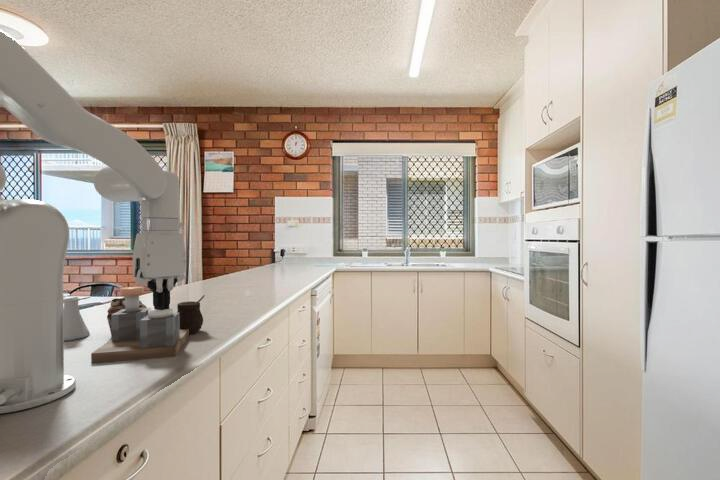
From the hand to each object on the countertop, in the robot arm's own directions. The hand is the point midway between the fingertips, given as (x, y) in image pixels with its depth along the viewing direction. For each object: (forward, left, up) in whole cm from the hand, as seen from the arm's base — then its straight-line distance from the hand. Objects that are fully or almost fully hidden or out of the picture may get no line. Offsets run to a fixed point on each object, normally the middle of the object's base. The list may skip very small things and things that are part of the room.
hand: (161, 308), depth 80 cm
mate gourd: (+16, -3, -10) cm, 19 cm away
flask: (+19, +25, -10) cm, 33 cm away
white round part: (0, 0, -6) cm, 6 cm away
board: (+3, +4, -10) cm, 11 cm away
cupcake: (+19, +12, -10) cm, 24 cm away
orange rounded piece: (+8, +8, -2) cm, 11 cm away
